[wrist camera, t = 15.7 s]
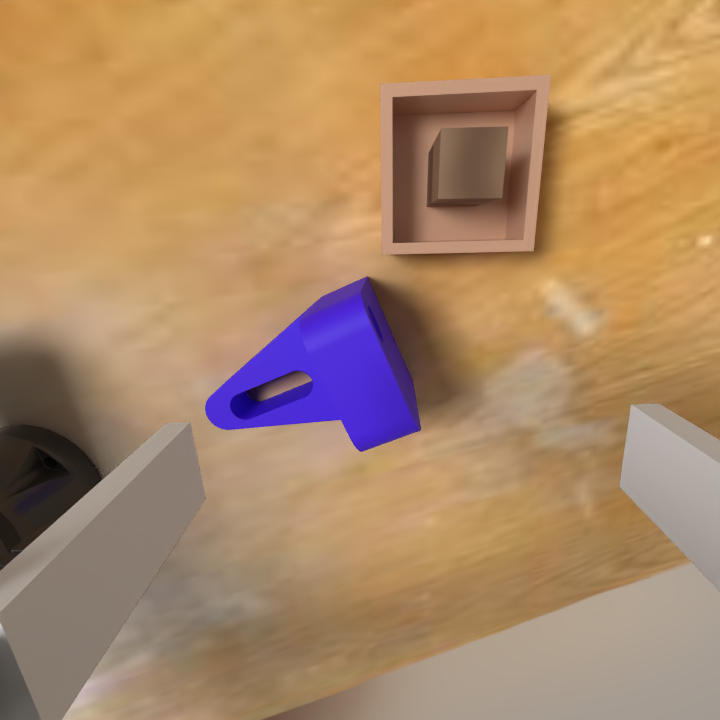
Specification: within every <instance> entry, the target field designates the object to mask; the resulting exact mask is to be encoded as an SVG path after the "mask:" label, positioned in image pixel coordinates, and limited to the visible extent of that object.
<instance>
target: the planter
mask: <svg viewBox="0 0 720 720" xmlns="http://www.w3.org/2000/svg"><path fill="white" fill-rule="evenodd" d="M550 79H551V75H538V76H519V77H500V78H481V79H462V80H443V81H424V82H405V83H386V84H380V102H381V208H382V255H387V254H430V253H473V252H515V251H534V242H535V232H536V221H537V211H538V201H539V191H540V181H541V171H542V160H543V150H544V140H545V130H546V120H547V110H548V99H549V89H550ZM505 126H509V128H508V139H507V150H506V161H505V172H504V184H503V195H502V198H501V199H497V200H494V201H491V202H488V203H484V204H481V205H478V206H445V207H426V206H427V179H428V153H429V151H430V149H431V147H432V145H433V143H434V141H435V139H436V137H437V135H438V133H439V131H440V130H441V128H466V127H505Z"/></svg>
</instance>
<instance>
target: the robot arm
mask: <svg viewBox="0 0 720 720" xmlns="http://www.w3.org/2000/svg"><path fill="white" fill-rule="evenodd" d="M619 487H620V488H621V489H622V490H623V491H624V492H625V493H626V494H627V495H628V496H629V497H630V498H631V499H632V500H633V501H634V502H635V504H636V505H637V506H638V507H639V508H640V509H641V510H642V511H643V512H644V513H645V514H646V515H647V516H648V517H649V518H650V519H651V520H652V521H653V522H654V523H655V524H656V525H657V526H658V527H659V529H660V530H661V531H662V532H663V533H664V534H665V535H666V536H667V537H668V538H669V539H670V540H671V541H672V542H673V543H674V544H675V545H676V546H677V547H678V548H679V549H680V550H681V551H682V552H683V553H684V555H685V556H686V557H687V558H688V559H689V560H690V561H691V562H692V563H693V564H694V565H695V566H696V567H697V568H698V569H699V570H700V571H701V572H702V573H703V574H704V575H705V576H706V577H707V578H708V580H710V582H711V583H712V584H713V585H714V586H715V587H716V588H717V589H718V590H719V591H720V440H719V439H717V438H716V437H714V436H712V435H711V434H709V433H707V432H706V431H704V430H702V429H701V428H699V427H697V426H696V425H694V424H692V423H690V422H689V421H687V420H685V419H684V418H682V417H680V416H679V415H677V414H675V413H674V412H672V411H670V410H669V409H667V408H665V407H664V406H662V405H660V404H659V403H655V404H631V409H630V415H629V422H628V429H627V436H626V443H625V450H624V457H623V464H622V471H621V478H620V485H619ZM205 499H206V497H205V492H204V487H203V483H202V478H201V473H200V468H199V463H198V458H197V453H196V448H195V443H194V438H193V433H192V428H191V424H190V422H180V423H166V424H164V425H163V426H162V427H161V428H160V429H159V430H158V431H157V432H156V433H154V434H153V435H152V436H151V437H150V438H149V439H148V440H147V441H145V442H144V443H143V444H142V445H141V446H140V447H139V448H138V449H136V450H135V451H134V452H133V453H132V454H131V455H130V456H129V457H127V458H126V459H125V460H124V461H123V462H122V463H121V464H120V465H118V466H117V467H116V468H115V469H114V470H113V471H112V472H111V473H109V474H108V475H107V476H106V477H105V478H104V479H103V480H102V481H101V478H100V476H99V474H98V472H97V470H96V469H95V467H94V466H93V464H92V463H91V461H90V460H89V459H88V458H87V457H86V456H85V455H84V453H82V452H81V451H80V450H79V449H78V448H77V447H76V446H75V445H73V444H72V443H71V442H69V441H68V440H66V439H64V438H63V437H61V436H59V435H57V434H55V433H53V432H50V431H48V430H45V429H41V428H37V427H32V426H21V425H20V426H9V427H5V428H1V429H0V720H62V718H63V717H64V715H65V714H66V712H67V711H68V709H69V708H70V706H71V705H72V703H73V702H74V700H75V698H76V697H77V695H78V694H79V692H80V691H81V689H82V688H83V686H84V685H85V683H86V682H87V680H88V679H89V677H90V675H91V674H92V672H93V671H94V669H95V668H96V666H97V665H98V663H99V662H100V660H101V659H102V657H103V655H104V654H105V652H106V651H107V649H108V648H109V646H110V645H111V643H112V642H113V640H114V639H115V637H116V636H117V634H118V632H119V631H120V629H121V628H122V626H123V625H124V623H125V622H126V620H127V619H128V617H129V616H130V614H131V612H132V611H133V609H134V608H135V606H136V605H137V603H138V602H139V600H140V599H141V597H142V596H143V594H144V593H145V591H146V589H147V588H148V586H149V585H150V583H151V582H152V580H153V579H154V577H155V576H156V574H157V573H158V571H159V569H160V568H161V566H162V565H163V563H164V562H165V560H166V559H167V557H168V556H169V554H170V553H171V551H172V550H173V548H174V546H175V545H176V543H177V542H178V540H179V539H180V537H181V536H182V534H183V533H184V531H185V530H186V528H187V527H188V525H189V523H190V522H191V520H192V519H193V517H194V516H195V514H196V513H197V511H198V510H199V508H200V507H201V505H202V503H203V502H204V500H205Z"/></svg>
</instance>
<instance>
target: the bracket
mask: <svg viewBox="0 0 720 720" xmlns="http://www.w3.org/2000/svg"><path fill="white" fill-rule="evenodd" d="M292 371H303V372H305V373H307V374H308V375H309V376H310V377H311V379H312V381H311V382H308V383H306V384H303V385H301V386H298V387H296V388H294V389H291V390H289V391H286V392H284V393H281V394H279V395H276V396H274V397H271V398H269V399H267V400H264V401H255V400H253V399H251V398H250V397H249V396H248V395H247V393H246V391H247V390H249V389H251V388H254V387H256V386H259V385H261V384H263V383H266V382H268V381H271V380H273V379H275V378H278V377H280V376H283V375H285V374H288V373H290V372H292ZM205 411H206V415H207V417H208V419H209V420H210V421H211V422H212V423H213V424H214V425H215V426H217V427H219V428H221V429H225V430H232V429H243V428H254V427H265V426H276V425H288V424H299V423H310V422H321V421H332V420H341V421H342V423H343V425H344V427H345V429H346V431H347V433H348V435H349V437H350V439H351V441H352V442H353V444H354V445H355V447H356V448H357V449H358V450H359V451H361V452H362V451H365V450H368V449H371V448H373V447H376V446H379V445H382V444H384V443H387V442H390V441H393V440H395V439H398V438H401V437H404V436H406V435H409V434H412V433H415V432H418V431H420V430H421V426H420V420H419V414H418V408H417V402H416V396H415V391H414V385H413V381H412V378H411V376H410V374H409V372H408V369H407V367H406V365H405V362H404V360H403V358H402V355H401V353H400V351H399V348H398V346H397V344H396V341H395V339H394V337H393V335H392V332H391V330H390V328H389V325H388V323H387V321H386V318H385V316H384V314H383V311H382V309H381V307H380V304H379V302H378V300H377V298H376V295H375V293H374V291H373V288H372V286H371V284H370V281H369V279H368V277H365V278H363V279H360V280H358V281H356V282H354V283H351V284H349V285H347V286H345V287H342V288H340V289H338V290H336V291H334V292H331V293H329V294H327V295H325V296H322V297H321V298H320V299H319V300H318V301H316V302H315V303H314V304H313V305H312V306H311V307H310V308H308V309H307V310H306V311H305V312H304V313H303V314H302V315H301V316H299V317H298V318H297V319H296V320H295V321H294V322H293V323H292V324H290V325H289V326H288V327H287V328H286V329H285V330H284V331H283V332H281V333H280V334H279V335H278V336H277V337H276V338H275V339H274V340H272V341H271V342H270V343H269V344H268V345H267V346H266V347H265V348H263V349H262V350H261V351H260V352H259V353H258V354H257V355H256V356H254V357H253V358H252V359H251V360H250V361H249V362H248V363H247V364H245V365H244V366H243V367H242V368H241V369H240V370H239V371H238V372H236V373H235V374H234V375H233V376H232V377H231V378H230V379H229V380H227V381H226V382H225V383H224V384H223V385H222V386H221V387H220V388H219V389H218V390H217V391H216V392H215V393H213V394H212V395H211V396H210V397H209V398H208V400H207V402H206V406H205Z"/></svg>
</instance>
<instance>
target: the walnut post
mask: <svg viewBox="0 0 720 720" xmlns="http://www.w3.org/2000/svg"><path fill="white" fill-rule="evenodd" d="M508 128H509V126H505V127H466V128H441V130H440V131H439V133H438V135H437V137H436V139H435V141H434V143H433V145H432V147H431V149H430V151H429V153H428V179H427V206H426V207H445V206H478V205H481V204H484V203H488V202H491V201H494V200H497V199H501V198H502V195H503V184H504V172H505V161H506V150H507V139H508Z"/></svg>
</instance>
